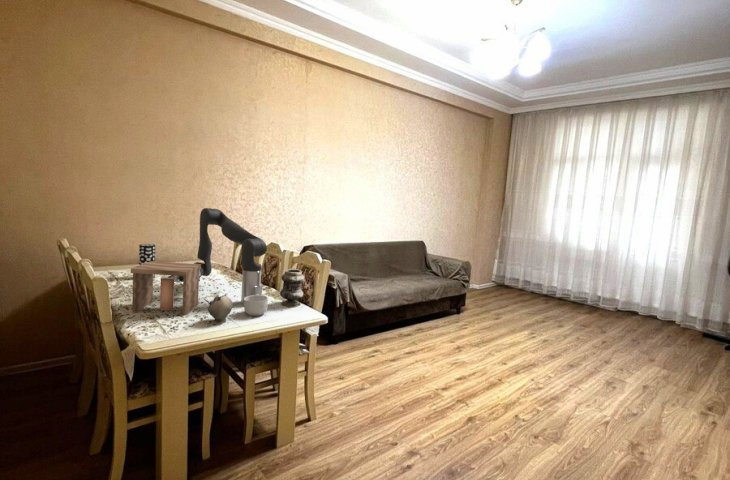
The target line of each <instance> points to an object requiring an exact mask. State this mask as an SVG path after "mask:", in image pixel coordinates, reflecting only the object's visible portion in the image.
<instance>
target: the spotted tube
mask: <svg viewBox="0 0 730 480" xmlns="http://www.w3.org/2000/svg"><path fill="white" fill-rule="evenodd" d="M150 261H156V244H151V243H141V244H139V246H138V266H139V265H141V264H144V263H147V262H150ZM155 278H156V274H153V280H154V279H155Z"/></svg>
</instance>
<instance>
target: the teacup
mask: <svg viewBox="0 0 730 480" xmlns="http://www.w3.org/2000/svg"><path fill="white" fill-rule="evenodd" d="M268 300H269V297H268V296H267V295H263V294H262V295H259V294H256V295H251V296H247V297H245V298H244V304H243V307H244V311H245V313H246V314H248V315H249V316H251V317H258V316H262V315H263V314H264V313H265V312H267V310H268V303H269V302H268Z"/></svg>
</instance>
